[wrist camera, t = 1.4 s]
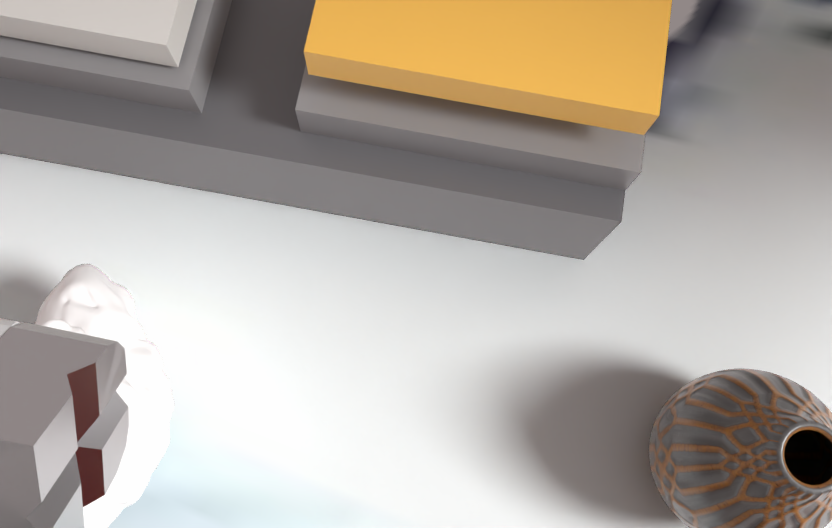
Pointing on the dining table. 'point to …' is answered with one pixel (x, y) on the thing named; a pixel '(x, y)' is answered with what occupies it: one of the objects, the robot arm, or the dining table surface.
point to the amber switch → (503, 54)
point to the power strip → (314, 135)
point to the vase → (744, 453)
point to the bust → (140, 389)
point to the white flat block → (104, 26)
